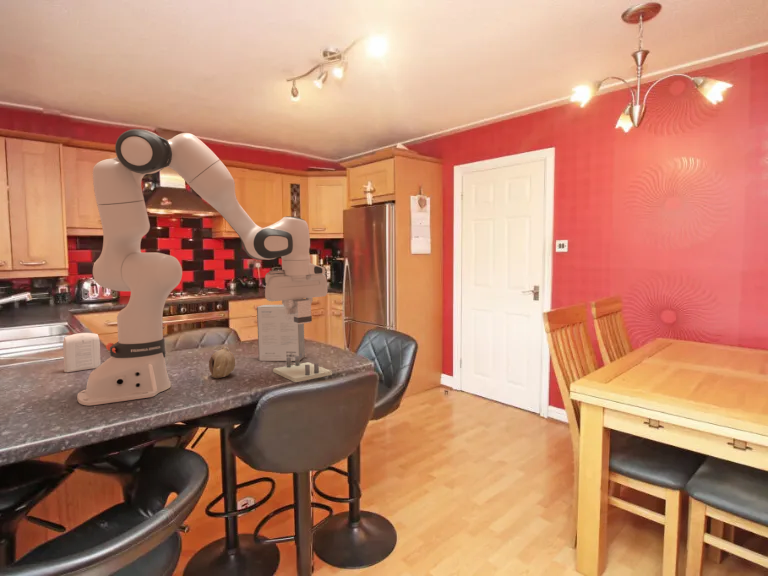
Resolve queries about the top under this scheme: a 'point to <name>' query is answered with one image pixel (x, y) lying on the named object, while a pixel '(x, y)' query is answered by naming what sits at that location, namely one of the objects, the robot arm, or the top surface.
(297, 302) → the block
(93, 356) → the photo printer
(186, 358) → the top surface
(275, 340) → the hard drive box
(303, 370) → the pin tray
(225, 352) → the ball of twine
